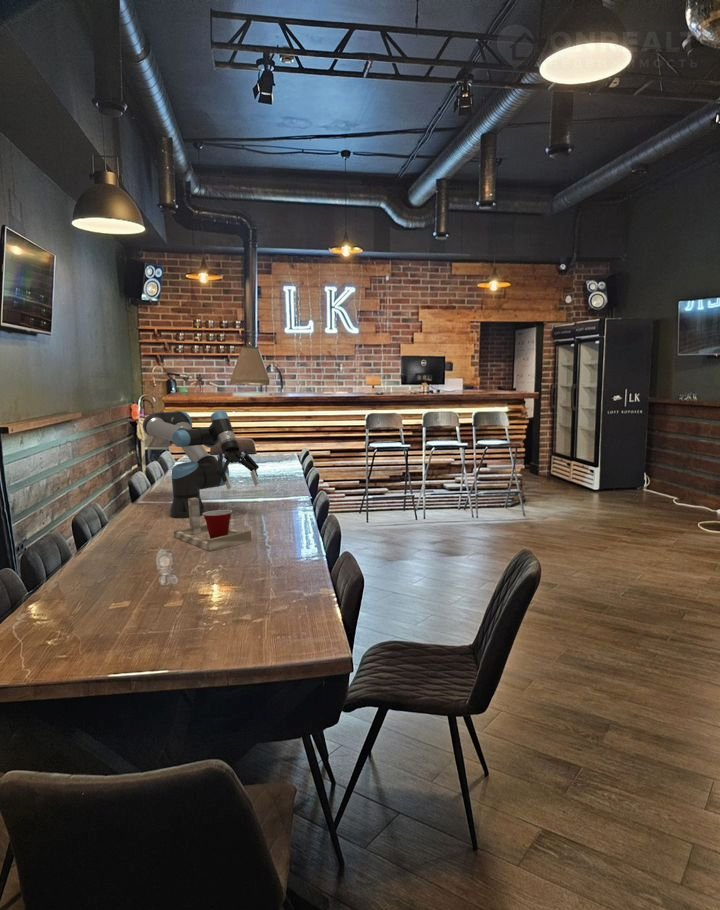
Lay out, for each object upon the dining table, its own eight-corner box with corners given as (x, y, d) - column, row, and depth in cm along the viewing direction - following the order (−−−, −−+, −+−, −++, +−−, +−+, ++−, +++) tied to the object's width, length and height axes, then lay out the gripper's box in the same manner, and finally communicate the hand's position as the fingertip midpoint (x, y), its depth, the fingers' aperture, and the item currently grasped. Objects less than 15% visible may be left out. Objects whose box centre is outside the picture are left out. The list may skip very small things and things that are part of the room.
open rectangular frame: (173, 536, 227) (171, 501, 225) (213, 528, 238) (211, 494, 236) (210, 551, 206) (207, 512, 204) (251, 541, 218) (249, 504, 216)
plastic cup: (231, 537, 225) (229, 506, 224) (236, 544, 215) (234, 512, 214) (202, 540, 221) (200, 509, 220) (206, 548, 211) (204, 515, 210)
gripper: (206, 441, 247) (221, 485, 241) (256, 437, 264) (271, 479, 257) (199, 449, 252) (214, 493, 246) (249, 445, 269) (263, 486, 262)
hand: (243, 486), depth 251 cm, fingers open, 13 cm apart
